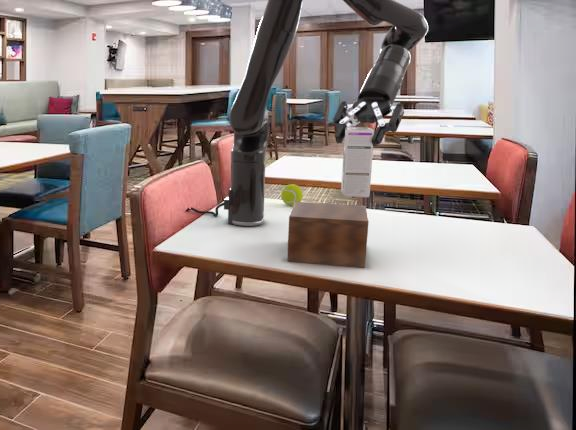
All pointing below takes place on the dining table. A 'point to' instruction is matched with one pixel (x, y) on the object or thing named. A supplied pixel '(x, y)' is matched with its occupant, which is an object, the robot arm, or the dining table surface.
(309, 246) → the wooden box
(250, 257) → the dining table surface
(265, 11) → the robot arm
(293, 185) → the tennis ball
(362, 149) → the syrup box
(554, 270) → the dining table surface
